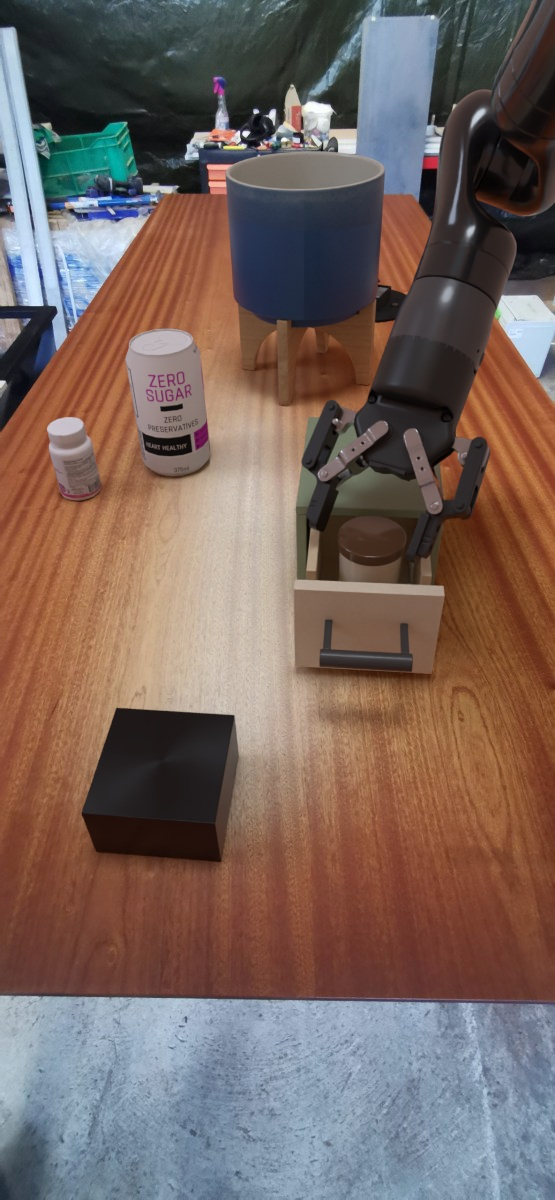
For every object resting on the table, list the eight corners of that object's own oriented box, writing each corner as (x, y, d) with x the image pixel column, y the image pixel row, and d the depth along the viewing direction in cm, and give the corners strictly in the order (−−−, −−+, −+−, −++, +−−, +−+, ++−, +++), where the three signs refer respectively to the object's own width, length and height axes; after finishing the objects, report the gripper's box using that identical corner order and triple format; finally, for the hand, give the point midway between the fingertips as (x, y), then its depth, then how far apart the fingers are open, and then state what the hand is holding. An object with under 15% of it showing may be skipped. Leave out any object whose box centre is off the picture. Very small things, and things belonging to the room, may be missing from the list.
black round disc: (344, 284, 133) (346, 252, 129) (425, 295, 128) (428, 262, 124) (311, 314, 123) (311, 280, 119) (396, 328, 118) (399, 293, 114)
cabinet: (431, 604, 70) (445, 511, 63) (297, 598, 71) (295, 506, 64) (423, 507, 82) (434, 419, 74) (308, 503, 83) (308, 416, 76)
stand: (238, 754, 58) (234, 714, 54) (221, 861, 51) (215, 823, 48) (127, 747, 59) (116, 707, 55) (95, 851, 52) (80, 813, 49)
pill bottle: (57, 484, 87) (40, 420, 81) (97, 475, 88) (83, 411, 83) (64, 505, 84) (46, 440, 78) (105, 496, 85) (91, 431, 79)
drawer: (434, 717, 59) (449, 639, 53) (290, 709, 60) (288, 631, 54) (423, 564, 73) (433, 488, 67) (306, 559, 74) (306, 484, 68)
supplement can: (185, 436, 94) (170, 320, 84) (224, 462, 90) (213, 341, 80) (131, 459, 91) (109, 340, 81) (168, 487, 86) (150, 364, 76)
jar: (397, 596, 68) (406, 516, 62) (397, 639, 64) (407, 558, 58) (336, 592, 68) (339, 513, 62) (332, 635, 64) (335, 555, 58)
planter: (265, 341, 116) (258, 148, 98) (385, 355, 111) (400, 154, 93) (218, 396, 102) (199, 184, 85) (352, 415, 97) (362, 194, 80)
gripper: (338, 316, 58) (268, 510, 58) (517, 351, 52) (438, 566, 53) (364, 355, 65) (301, 528, 65) (525, 390, 59) (454, 579, 60)
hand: (362, 545), depth 59 cm, fingers open, 8 cm apart
